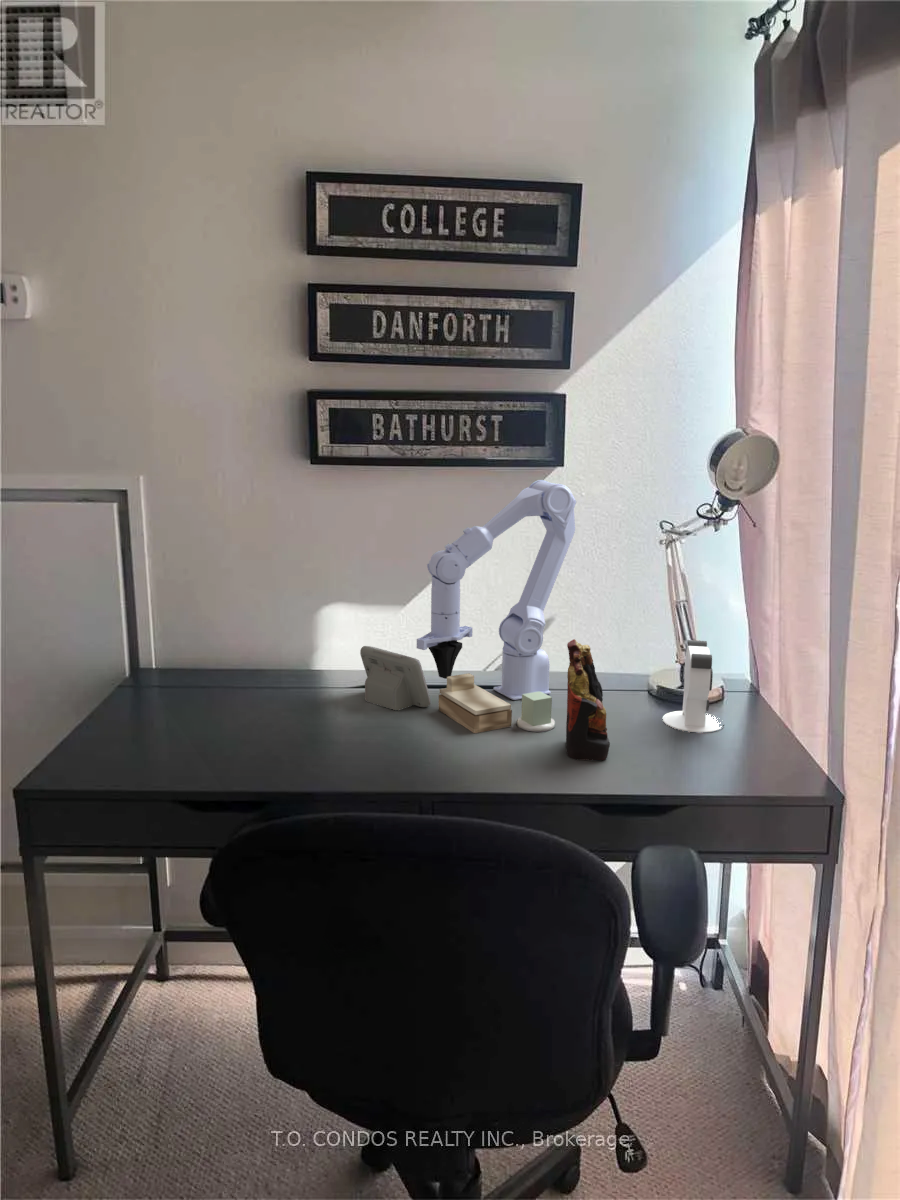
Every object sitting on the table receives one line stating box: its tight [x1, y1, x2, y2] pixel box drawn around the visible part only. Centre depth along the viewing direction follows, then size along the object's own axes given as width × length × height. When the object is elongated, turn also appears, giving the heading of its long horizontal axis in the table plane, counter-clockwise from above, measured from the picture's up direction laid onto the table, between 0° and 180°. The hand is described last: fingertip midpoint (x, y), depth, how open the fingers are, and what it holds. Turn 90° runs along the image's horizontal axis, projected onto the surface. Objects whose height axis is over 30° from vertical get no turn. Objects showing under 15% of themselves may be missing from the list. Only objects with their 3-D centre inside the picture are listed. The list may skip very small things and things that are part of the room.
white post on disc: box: [662, 639, 722, 734], centre depth 169 cm, size 12×11×15 cm
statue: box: [565, 638, 611, 761], centre depth 156 cm, size 12×8×20 cm, turn 169°
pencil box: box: [438, 693, 513, 734], centre depth 172 cm, size 8×14×3 cm, turn 29°
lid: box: [439, 673, 512, 715], centre depth 171 cm, size 8×14×3 cm, turn 29°
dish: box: [516, 716, 556, 733], centre depth 169 cm, size 7×7×1 cm
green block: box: [520, 691, 553, 726], centre depth 168 cm, size 4×4×5 cm
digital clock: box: [359, 645, 431, 711], centre depth 180 cm, size 16×9×11 cm, turn 37°
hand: (444, 677), depth 181 cm, fingers closed
